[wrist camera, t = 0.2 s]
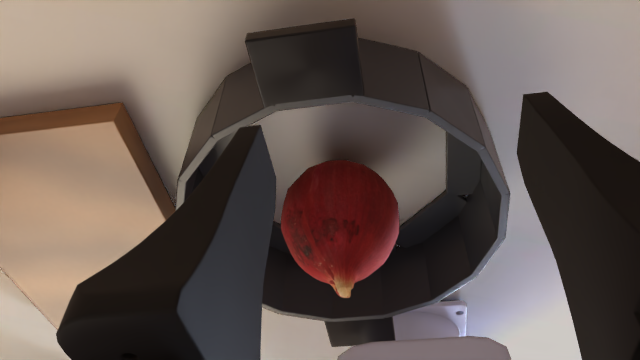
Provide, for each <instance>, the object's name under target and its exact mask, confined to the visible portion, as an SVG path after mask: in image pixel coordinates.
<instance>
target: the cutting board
mask: <svg viewBox="0 0 640 360" xmlns="http://www.w3.org/2000/svg"><path fill="white" fill-rule="evenodd" d="M174 212H175V207H174V205H173V203H172V201H171V199H170V197H169V195H168V193H167V191H166V189H165V187H164V185H163V183H162V181H161V179H160V177H159V175H158V173H157V171H156V169H155V167H154V165H153V163H152V161H151V159H150V157H149V155H148V153H147V151H146V149H145V147H144V145H143V143H142V141H141V139H140V137H139V135H138V133H137V131H136V129H135V127H134V125H133V123H132V121H131V119H130V117H129V115H128V113H127V111H126V109H125V107H124V105H123V103H115V104H107V105H99V106H91V107H83V108H75V109H67V110H59V111H51V112H44V113H36V114H28V115H20V116H12V117H4V118H0V268H1V269H2V270H3V271H4V272H5V273H6V275H7V276H8V277H9V278H10V279H11V280H12V281H13V282H14V283H15V284H16V286H17V287H18V288H19V289H20V290H21V291H22V292H23V293H24V294H25V295H26V296H27V298H28V299H29V300H30V301H31V302H32V303H33V304H34V305H35V306H36V307H37V308H38V310H39V311H40V312H41V313H42V314H43V315H44V316H45V317H46V318H47V319H48V320H49V322H50V323H51V324H52V325H53V326H54V327H55V328H56V329H57V330H58V328H59V326H60V323H61V321H62V318H63V316H64V313H65V311H66V309H67V306H68V304H69V301H70V299H71V297H72V295H73V293H74V291H75V289H76V287H77V285H78V284H79V283H81V282H83V281H85V280H86V279H88V278H89V277H91V276H93V275H94V274H96V273H98V272H99V271H101V270H102V269H104V268H106V267H107V266H109V265H110V264H112V263H113V262H115V261H116V260H118V259H119V258H120V257H122V256H123V255H125V254H126V253H127V252H129V251H130V250H131V249H133V248H134V247H135V246H137V245H138V244H139V243H141V242H142V241H143V240H144V239H145V238H147V237H148V236H149V235H150V234H151V233H152V232H153V231H155V230H156V229H157V228H158V227H159V226H160V225H162V224H163V223H164V222H165V221H166V220H167V219H168V218H169V217H170V216H171V215H172V214H173V213H174Z"/></svg>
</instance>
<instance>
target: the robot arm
mask: <svg viewBox="0 0 640 360" xmlns="http://www.w3.org/2000/svg"><path fill="white" fill-rule="evenodd" d="M517 156H518V160H519V164H520V168H521V172H522V176H523V179H524V183H525V186H526V188H527V191H528V193H529V196H530V198H531V201H532V203H533V206H534V208H535V210H536V213H537V215H538V217H539V220H540V222H541V225H542V227H543V229H544V232H545V234H546V236H547V239H548V241H549V244H550V246H551V248H552V251H553V254H554V257H555V259H556V262H557V265H558V269H559V272H560V276H561V279H562V283H563V286H564V290H565V293H566V297H567V301H568V305H569V308H570V312H571V316H572V320H573V323H574V327H575V332H576V336H577V340H578V344H579V348H580V352H581V356H582V360H640V162H639V161H638V160H636V159H634V158H633V157H631V156H630V155H628V154H627V153H625V152H624V151H622V150H621V149H619V148H618V147H616V146H615V145H613V144H612V143H610V142H609V141H608V140H606V139H605V138H603V137H602V136H601V135H599V134H598V133H597V132H595V131H594V130H593V129H592V128H590V127H589V126H588V125H586V124H585V123H584V122H583V121H582V120H580V119H579V118H578V117H577V116H575V115H574V114H573V113H572V112H571V111H569V110H568V109H567V108H566V107H565V106H564V105H562V104H561V103H560V102H559V101H558V100H556V99H555V98H554V97H553V96H552V95H551V94H549V93H548V92H542V93H533V94H524V95H523V103H522V111H521V120H520V129H519V138H518V147H517ZM275 200H276V176H275V173H274V169H273V166H272V162H271V159H270V155H269V152H268V149H267V145H266V142H265V138H264V135H263V132H262V128H261V125H256V126H248V127H240V128H239V129H238V130H237V132H236V133H235V135H234V136H233V138H232V139H231V141H230V142H229V143H228V145H227V146H226V148H225V149H224V151H223V152H222V154H221V155H220V157H219V158H218V160H217V161H216V162H215V164H214V165H213V166H212V168H211V169H210V171H209V172H208V173H207V175H206V176H205V177H204V179H203V180H202V181H201V182H200V184H199V185H198V186H197V187H196V189H195V190H194V191H193V192H192V193H191V195H190V196H189V197H188V198H187V199H186V201H185V202H184V203H183V204H182V205H181V206H180V207H179V208H178V209H177V210H176V211H175V212H174V213H173V214H172V215H171V216H170V217H169V218H168V219H167V220H166V221H165V222H164V223H163V224H162V225H160V226H159V227H158V228H157V229H156V230H155V231H153V232H152V233H151V234H150V235H149V236H148V237H147V238H145V239H144V240H143V241H142V242H141V243H139V244H138V245H137V246H135V247H134V248H133V249H131V250H130V251H129V252H127V253H126V254H125V255H123V256H122V257H120V258H119V259H118V260H116V261H115V262H113V263H112V264H110V265H109V266H107V267H106V268H104V269H102V270H101V271H99V272H98V273H96V274H94V275H93V276H91V277H89V278H88V279H86V280H85V281H83V282H81V283H79V284H78V285H77V287H76V289H75V291H74V293H73V295H72V297H71V299H70V301H69V304H68V306H67V309H66V311H65V313H64V316H63V318H62V321H61V323H60V326H59V328H58V331H57V333H56V336H57V341H58V343H59V345H60V346H61V348H62V349H63V351H64V352H65V353H66V354H67V355H68V356H69V357H70V358H71V360H260V344H261V316H262V296H263V282H264V274H265V267H266V261H267V255H268V249H269V243H270V237H271V231H272V225H273V219H274V213H275ZM466 315H467V306H466V303H465V302H464V301H461V300H458V301H444V302H437V303H435V304H431V305H428V306H425V307H422V308H418V309H415V310H412V311H409V312H405V313H402V314H399V315H395V316H393V322H394V329H395V338H396V341H381V342H370V343H365V344H361V345H356V346H353V347H351V348H350V349H348V350H347V351H345V352H344V353H342V354H341V355H340V356H338V359H337V360H511V357H510V354H509V352H508V349H507V347H506V346H504V345H502V344H500V343H498V342H496V341H494V340H492V339H490V338H487V337H474V336H466Z"/></svg>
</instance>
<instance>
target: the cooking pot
mask: <svg viewBox="0 0 640 360" xmlns="http://www.w3.org/2000/svg"><path fill="white" fill-rule="evenodd" d="M245 43H246V47H247V50H248V54H249V57H250V61H251V63H250V64H248V65H246V66H244V67H243V68H241V69H239V70H237V71H235V72H234V73H232V74H230V75H228V76H227V77H226V78H225V79H224V81H223V82H222V84H221V85H220V87H219V88H218V89H217V91H216V92H215V94H214V95H213V96H212V98H211V99H210V101H209V102H208V103H207V105H206V106H205V108H204V109H203V111H202V112H201V113H200V115H199V116H198V118H197V120H196V123H195V126H194V129H193V132H192V136H191V139H190V142H189V145H188V148H187V152H186V155H185V158H184V161H183V165H182V168H181V171H180V174H179V177H178V182H177V196H176V209H175V211H176V210H177V209H178V208H179V207H180V206H181V205H182V204H183V203H184V202H185V201H186V199H187V198H188V197H189V196H190V195H191V193H192V192H193V191H194V190H195V189H196V187H197V186H198V185H199V184H200V182H201V181H202V180H203V179H204V177H205V176H206V175H207V173H208V172H209V171H210V169H211V168H212V166H213V165H214V164H215V162H216V161H217V160H218V158H219V157H220V155H221V154H222V152H223V151H224V149H225V148H226V146H227V145H228V143H229V142H230V141H231V139H232V138H233V136H234V135H235V133H236V132H237V130H238V129H239V128H240V127H246V126H248V125H250V124H252V123H254V122H256V121H258V120H260V119H262V118H264V117H266V116H268V115H270V114H272V113H274V112H276V111H280V110H288V109H297V108H305V107H314V106H322V105H330V104H339V103H347V102H355V103H360V104H365V105H370V106H374V107H379V108H384V109H389V110H393V111H398V112H403V113H408V114H412V115H417V116H422V117H426V118H427V119H429V120H430V121H432V122H433V123H435V124H436V125H438V126H439V127H441V128H442V129H444V130H445V131H446V191H445V192H443V193H442V194H441V195H440V196H438V197H437V198H436V199H435V200H433V201H432V202H431V203H430V204H428V205H427V206H426V207H425V208H423V209H422V210H421V211H420V212H418V213H417V214H416V215H415V216H413V217H412V218H411V219H410V220H408V221H407V222H406V223H404V224H403V225H402V226H401V227H399V234H398V237H397V240H396V243H395V245H394V247H393V249H392V251H391V253H390V255H389V257H388V258H387V260H386V261H385V263H384V264H383V265H382V266H380V267H379V268H378V269H377V270H376V271H374V272H373V273H372V274H371V275H369V276H368V277H366V278H365V279H363V280H360V281H358V282H356V283H354V287H353V289H351V296H350V297H349V298H343V297H340V296H339V295H338V294H337V293H336V292H335V290H334V288H333V287H332V286H331V285H330V284H328V283H325V282H322V281H319V280H317V279H315V278H314V277H312V276H311V275H309V274H308V273H306V272H305V271H304V270H303V269H302V268H301V267H300V266H299V265H298V264H297V262H296V261H295V260H294V258H293V256H292V254H291V253H290V250H289V248H288V246H287V244H286V241H285V239H284V236H283V233H282V230H281V225H280V224H278V223H276V222H274V221H273V225H272V231H271V237H270V243H269V249H268V255H267V261H266V267H265V274H264V282H263V296H262V308H265V309H267V310H270V311H272V312H275V313H277V314H280V315H287V316H293V317H300V318H307V319H313V320H320V321H324V322H325V325H326V329H327V332H328V336H329V339H330V343H331V346H332V347H338V346H354V345H361V344H365V343H370V342H381V341H396V338H395V329H394V322H393V316H395V315H399V314H402V313H405V312H409V311H412V310H415V309H418V308H422V307H425V306H428V305H431V304H435V303H437V302H438V301H440V300H441V299H443V298H445V297H446V296H448V295H449V294H451V293H452V292H454V291H456V290H457V289H459V288H460V287H462V286H463V285H465V284H466V283H468V282H470V281H471V280H473V279H474V278H476V277H477V276H478V275H479V274H480V272H481V271H482V270H483V268H484V267H485V266H486V264H487V263H488V261H489V260H490V259H491V257H492V256H493V255H494V253H495V252H496V251H497V249H498V248H499V246H500V245H501V244H502V242H503V241H504V239H505V236H506V227H507V218H508V209H509V200H510V191H509V188H508V185H507V182H506V179H505V176H504V173H503V170H502V167H501V164H500V161H499V158H498V155H497V152H496V149H495V146H494V143H493V140H492V137H491V134H490V131H489V129H488V127H487V125H486V123H485V121H484V119H483V116H482V115H481V113H480V111H479V109H478V107H477V105H476V103H475V101H474V99H473V97H472V95H471V93H470V91H469V89H468V88H467V87H466V85H464V84H463V83H461V82H460V81H459V80H457V79H456V78H454V77H453V76H452V75H450V74H449V73H447V72H446V71H445V70H443V69H442V68H440V67H439V66H438V65H436V64H435V63H433V62H432V61H431V60H429V59H428V58H426V57H425V56H424V55H422V54H421V53H419V52H418V53H417V51H414V50H409V49H405V48H401V47H396V46H392V45H387V44H383V43H379V42H375V41H370V40H365V39H361V38H358V35H357V27H356V20H355V19H346V20H339V21H332V22H325V23H317V24H310V25H303V26H296V27H289V28H282V29H274V30H267V31H260V32H253V33H248V34H247V35H246V39H245ZM462 195H468V196H467V198H465V197H463V196H462ZM396 244H398V245H400V247H398V248H396Z"/></svg>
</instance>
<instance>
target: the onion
mask: <svg viewBox="0 0 640 360" xmlns="http://www.w3.org/2000/svg"><path fill="white" fill-rule="evenodd" d="M281 230H282V233H283V236H284V239H285V241H286V244H287V246H288V248H289V250H290V253H291V254H292V256H293V258H294V260H295V261H296V262H297V264H298V265H299V266H300V267H301V268H302V269H303V270H304V271H305V272H306V273H308V274H309V275H311V276H312V277H314V278H315V279H317V280H319V281H322V282H325V283H328V284H330V285H331V286H332V287H333V288H334V290H335V292H336V293H337V294H338V295H339V296H340V297H343V298H349V297H350V296H351V289H353V287H354V283H356V282H358V281H360V280H363V279H365V278H366V277H368V276H369V275H371V274H372V273H373V272H374V271H376V270H377V269H378V268H379V267H380V266H382V265H383V264H384V263H385V261H386V260H387V258H388V257H389V255H390V253H391V251H392V249H393V247H394V245H395V243H396V240H397V237H398V234H399V211H398V202H397V200H396V198H395V196H394V193H393V192H392V190H391V189H390V188H389V186H388V185H387V184H386V182H385V181H384V179H383V178H382V177H380V176H379V175H378V174H377V173H376V172H374V171H373V170H371V169H370V168H368V167H367V166H365V165H364V164H359V163H355V162H351V161H348V160H333V161H326V162H323V163H321V164H318V165H315V166H313V167H310V168H308V169H307V170H306V171H305V172H304V173H303V174H302V175H301V176H300V177H299V178H298V179H297V180H296V181H295V182H294V183H293V184H292V185H291V186H290V187H289V188H288V191H287V194H286V197H285V200H284V205H283V210H282V215H281Z"/></svg>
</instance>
